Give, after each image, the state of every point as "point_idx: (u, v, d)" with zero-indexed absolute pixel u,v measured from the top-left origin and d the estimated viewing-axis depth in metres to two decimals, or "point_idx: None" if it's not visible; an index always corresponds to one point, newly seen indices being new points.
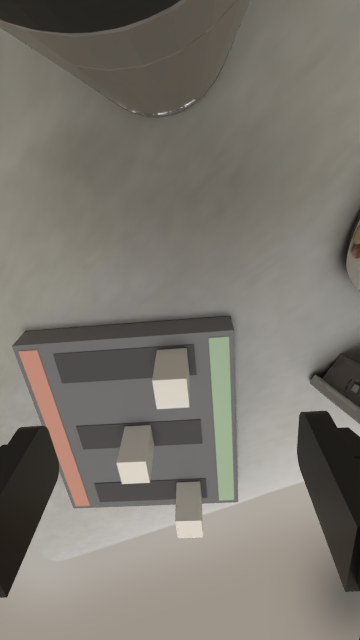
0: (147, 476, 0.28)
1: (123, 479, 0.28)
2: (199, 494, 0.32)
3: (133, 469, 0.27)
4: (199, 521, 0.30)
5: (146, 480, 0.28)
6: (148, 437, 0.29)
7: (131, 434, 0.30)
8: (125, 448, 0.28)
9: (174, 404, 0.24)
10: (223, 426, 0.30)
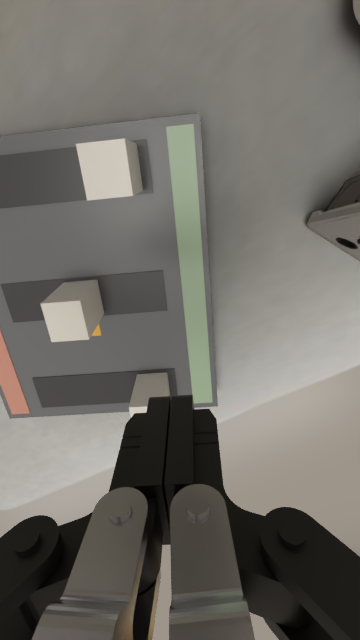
0: (84, 328, 0.20)
1: (52, 333, 0.20)
2: (164, 383, 0.25)
3: (64, 315, 0.20)
4: None
5: (83, 336, 0.20)
6: (91, 286, 0.22)
7: (69, 286, 0.22)
8: (57, 294, 0.21)
9: (111, 189, 0.17)
10: (193, 281, 0.23)
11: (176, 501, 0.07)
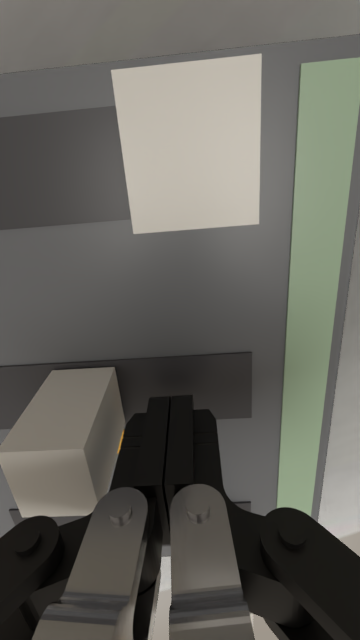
0: (92, 496, 0.09)
1: (23, 504, 0.10)
2: None
3: (48, 473, 0.09)
4: None
5: (89, 509, 0.10)
6: (105, 390, 0.11)
7: (62, 385, 0.12)
8: (36, 415, 0.10)
9: (201, 207, 0.06)
10: (306, 371, 0.12)
11: (176, 501, 0.07)
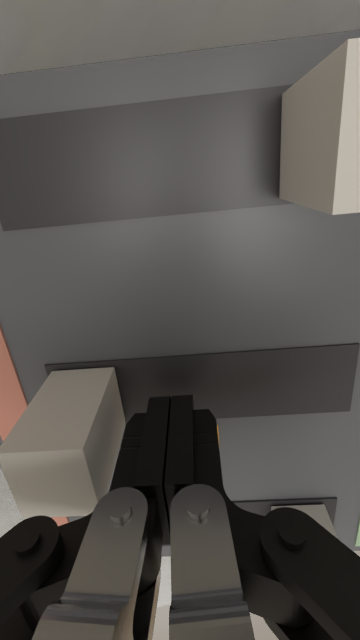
0: (92, 496, 0.09)
1: (24, 504, 0.10)
2: None
3: (48, 474, 0.09)
4: None
5: (89, 509, 0.10)
6: (105, 390, 0.11)
7: (62, 386, 0.12)
8: (36, 415, 0.10)
9: None
10: None
11: (176, 501, 0.07)
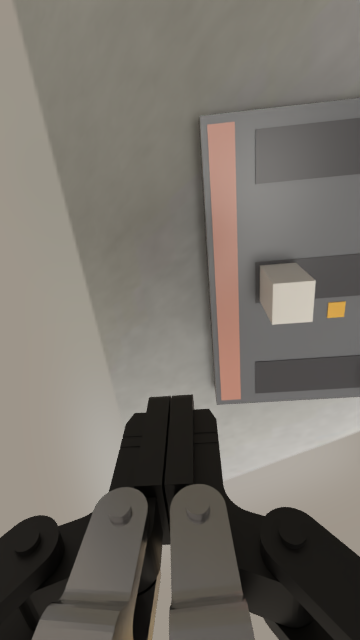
0: (311, 309, 0.20)
1: (276, 315, 0.20)
2: None
3: (294, 295, 0.19)
4: None
5: (307, 318, 0.20)
6: (301, 268, 0.21)
7: (274, 268, 0.22)
8: (275, 275, 0.20)
9: None
10: None
11: (176, 501, 0.07)
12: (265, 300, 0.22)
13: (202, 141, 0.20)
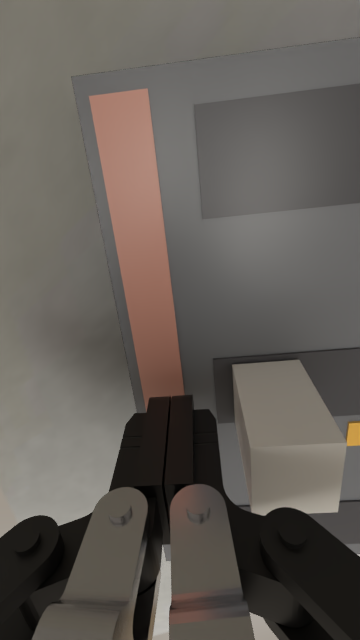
0: (336, 492, 0.09)
1: (259, 501, 0.09)
2: None
3: (299, 469, 0.09)
4: None
5: (327, 506, 0.09)
6: None
7: (259, 379, 0.11)
8: (259, 409, 0.10)
9: None
10: None
11: (176, 501, 0.07)
12: (241, 442, 0.11)
13: (84, 133, 0.09)
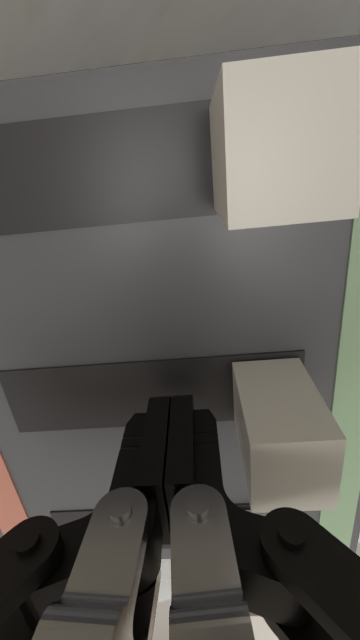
0: (335, 489, 0.09)
1: (259, 498, 0.09)
2: None
3: (298, 466, 0.09)
4: None
5: (326, 504, 0.09)
6: None
7: (259, 376, 0.11)
8: (259, 406, 0.10)
9: (301, 201, 0.06)
10: (358, 369, 0.12)
11: (176, 501, 0.07)
12: (240, 440, 0.11)
13: None
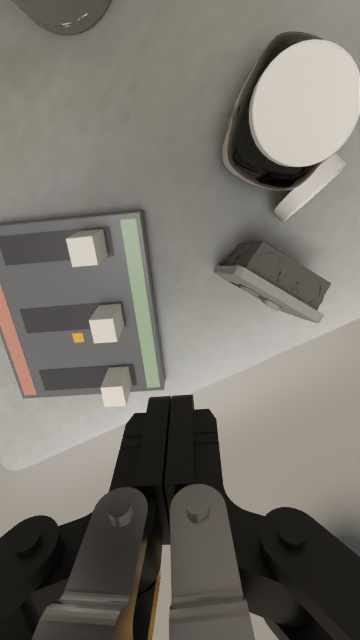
0: (114, 334, 0.33)
1: (95, 338, 0.33)
2: (125, 373, 0.38)
3: (102, 327, 0.33)
4: (120, 387, 0.36)
5: (113, 339, 0.33)
6: (117, 308, 0.35)
7: (103, 308, 0.35)
8: (97, 314, 0.34)
9: (85, 261, 0.30)
10: (142, 308, 0.36)
11: (176, 501, 0.07)
12: None
13: None
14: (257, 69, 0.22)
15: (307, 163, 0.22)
